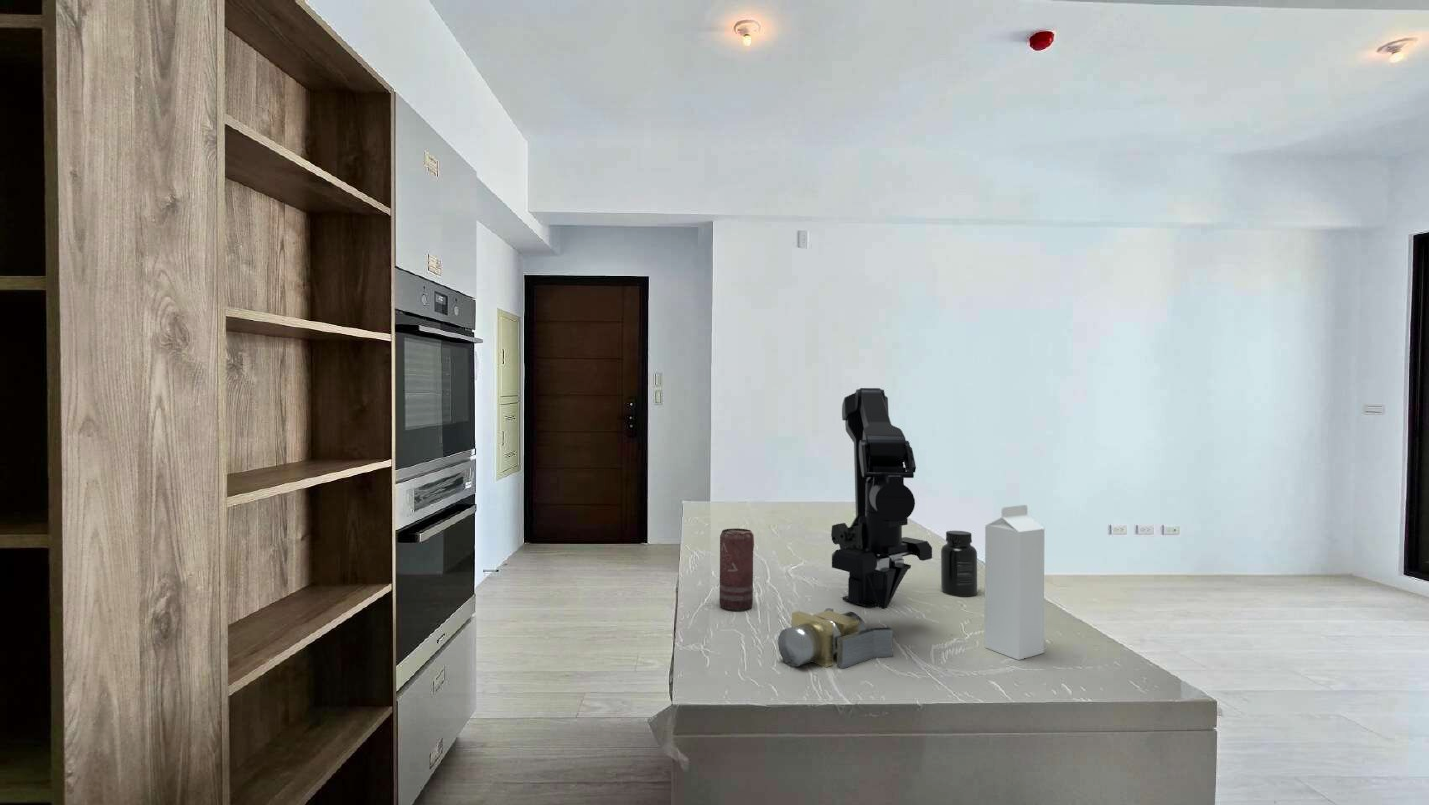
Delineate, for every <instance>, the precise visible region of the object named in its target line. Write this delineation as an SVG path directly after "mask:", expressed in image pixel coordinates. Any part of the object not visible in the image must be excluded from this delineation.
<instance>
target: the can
mask: <svg viewBox="0 0 1429 805" xmlns="http://www.w3.org/2000/svg"><path fill="white" fill-rule="evenodd" d="M753 533H754V532H752V530H750V529H747V528H737V527H736V528H724V529H722V531H721V533H720V535H719V599H718V600H719V605H720V607H721V608H722V609H723V610H726V611H731V612H742V611H748V610H750V609H751V608H752V606H753V603H754V602H753V601H754V590H753V589H754V550H755V549H754V548H755V538H754V536H755V535H754V534H753Z"/></svg>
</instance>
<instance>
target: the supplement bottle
mask: <svg viewBox="0 0 1429 805" xmlns="http://www.w3.org/2000/svg"><path fill="white" fill-rule="evenodd" d="M945 541H946V542H947V543H946V544H944V545H943V546H942V547H941V549H940V583H941V584H940V586H941V591H942V592H943V593H945V594H947V595H950V596H955V597H956V596H957V597H972V596H975V595H976V594H977V593H978V550H977V549H976V548H975V547H974V546H973V545H972V544H971V543H973V541H972V532H969V531H965V530H964V531H963V530H947V531H946V532H945Z"/></svg>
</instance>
